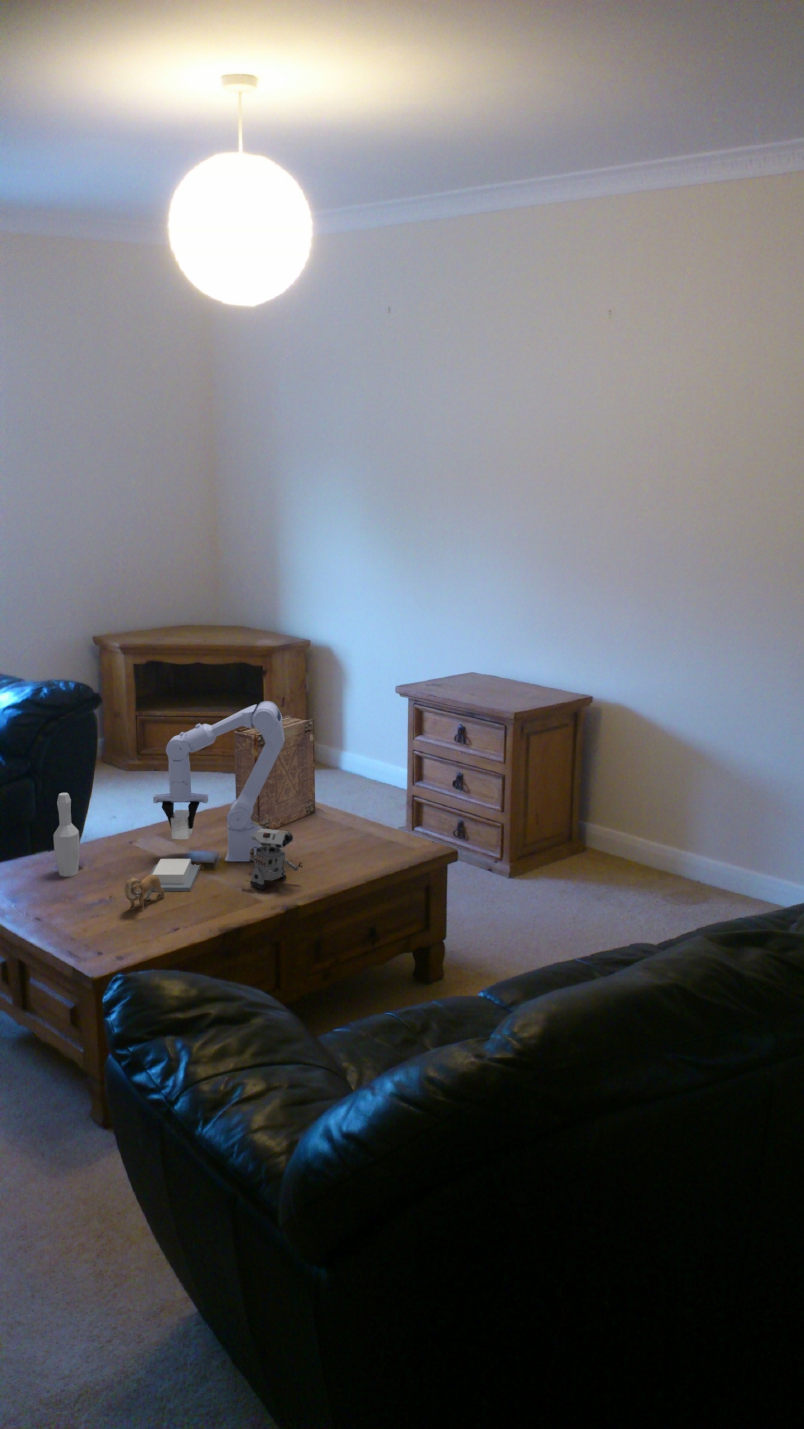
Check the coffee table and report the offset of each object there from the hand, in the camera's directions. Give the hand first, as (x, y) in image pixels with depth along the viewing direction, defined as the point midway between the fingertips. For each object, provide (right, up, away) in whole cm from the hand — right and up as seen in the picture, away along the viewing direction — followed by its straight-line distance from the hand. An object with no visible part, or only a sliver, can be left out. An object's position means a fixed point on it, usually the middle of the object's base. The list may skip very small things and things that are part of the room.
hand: (182, 827), depth 299 cm
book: (+22, -1, +32) cm, 39 cm away
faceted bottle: (-28, -11, -10) cm, 32 cm away
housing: (0, -2, +1) cm, 2 cm away
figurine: (+27, -13, -17) cm, 35 cm away
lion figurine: (-3, -16, -30) cm, 34 cm away
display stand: (0, -12, -13) cm, 18 cm away
